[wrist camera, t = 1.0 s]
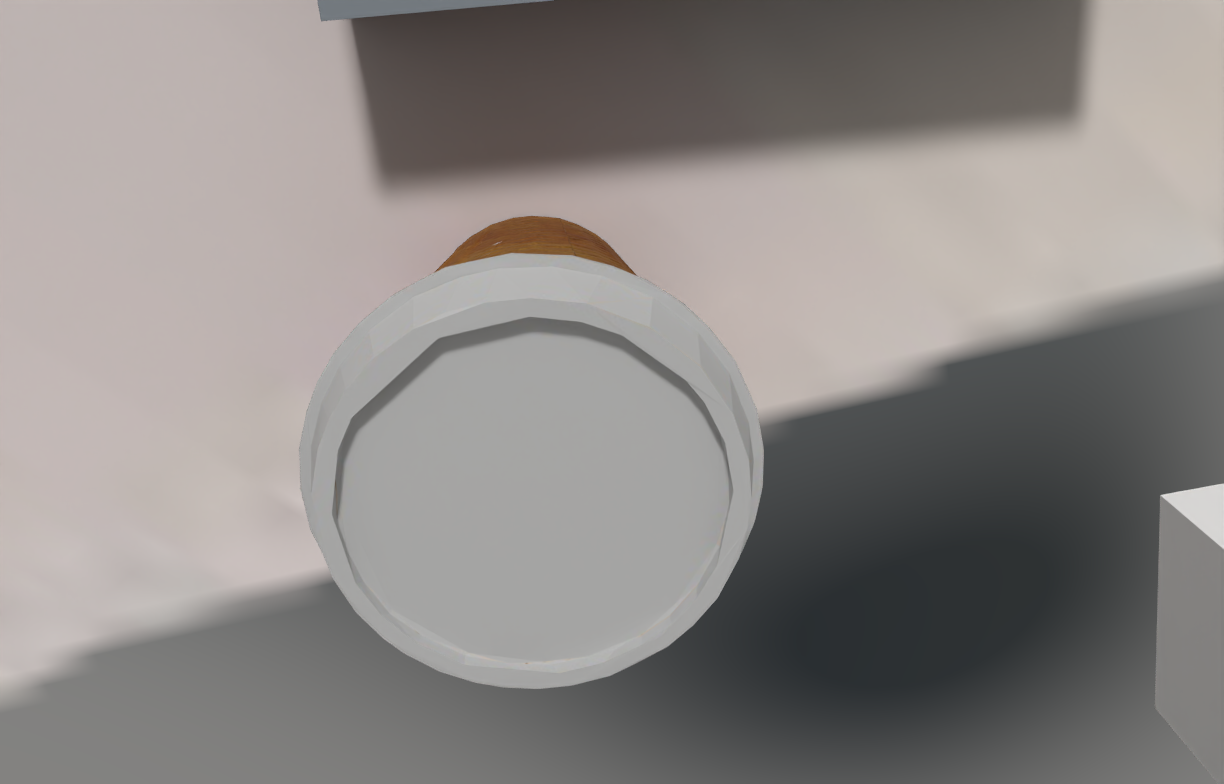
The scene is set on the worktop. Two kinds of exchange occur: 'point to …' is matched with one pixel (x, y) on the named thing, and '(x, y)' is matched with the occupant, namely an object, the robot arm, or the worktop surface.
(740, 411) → the disposable coffee cup
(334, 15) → the bin
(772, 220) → the worktop surface
